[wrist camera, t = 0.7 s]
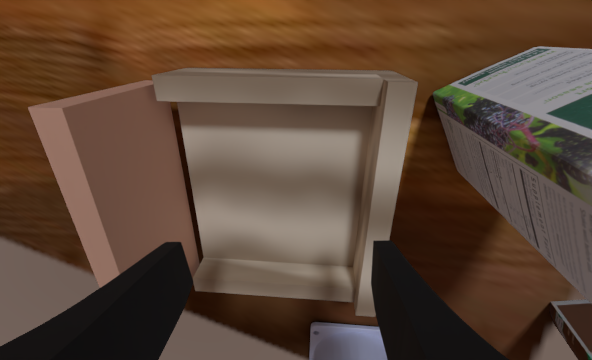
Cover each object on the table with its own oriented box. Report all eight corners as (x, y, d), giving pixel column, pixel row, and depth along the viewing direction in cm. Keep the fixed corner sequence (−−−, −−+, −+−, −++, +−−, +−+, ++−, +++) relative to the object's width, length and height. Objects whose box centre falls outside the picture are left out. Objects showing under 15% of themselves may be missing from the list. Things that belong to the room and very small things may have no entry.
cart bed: (364, 261, 23) (375, 316, 18) (214, 252, 23) (189, 302, 19) (391, 70, 16) (417, 82, 12) (187, 67, 17) (139, 77, 13)
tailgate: (199, 264, 21) (148, 357, 15) (173, 262, 22) (112, 354, 15) (166, 80, 16) (62, 108, 9) (131, 80, 16) (5, 106, 10)
